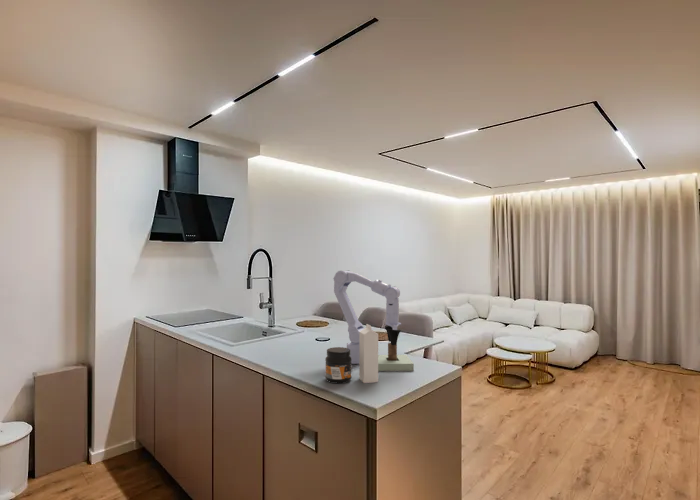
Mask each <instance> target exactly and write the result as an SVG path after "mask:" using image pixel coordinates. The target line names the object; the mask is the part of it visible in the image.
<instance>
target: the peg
mask: <svg viewBox="0 0 700 500" xmlns="http://www.w3.org/2000/svg"><path fill="white" fill-rule="evenodd" d="M387 355H388V361H397V355H398V343H397V344H396V345H391V342H388V343H387Z"/></svg>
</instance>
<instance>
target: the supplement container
mask: <svg viewBox="0 0 700 500" xmlns="http://www.w3.org/2000/svg"><path fill="white" fill-rule="evenodd" d="M324 359H325V360H324V361H325V376H324V377H325V380H326V381H327V380H328V381H330V382H329V383H331V382H337V383H336V384H344V383H343V382H346V383H348V382H350V381H351V379H352V364H351V361H352V358H351V357H350V349H348V348H347V347H343V346H342V347H340V346H337V347H335V346H334V347H329V348H327V349H326V357H325V358H324ZM328 381H327V382H328Z"/></svg>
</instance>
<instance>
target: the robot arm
mask: <svg viewBox="0 0 700 500" xmlns="http://www.w3.org/2000/svg"><path fill="white" fill-rule="evenodd" d="M332 280H333V281H334V283H333V293H334V295H335V297H336V299H337V302H338V304H339V307H340V308H341V312H342V313H343V316H344V318H345V320H346V321H345V322H346V323H347V325H348V327H347V332H348V339H349V341H350V342H348V343H346V348H348V349H350V357H351V358H352V361H351V365H352V364H353V365H357V364H358V365H359V336H360V331H362V330H363V329H365V328H366V327H364V325H363V323H362V322H361V321H360V320H359V319H358V316H357V314H356V312H355V309H354V308H353V305H352V303H351V302H352V301H351V300H350V298H349V296H348V293H347V289H348V287H349V286H350V284H351V283H352V282H354V283H355V282H356V283H359V284H361V285H364V286H366V287H368V288H370V291H372V292H373V293H375V294H378V295H379V296H382V297H385V299H386V300H385V301H386V303H385V304H386V308H385V312H386V313H385V318H386V320H385V326H384V328H385V330H386V334H387V339H388V343H391V345H396V344H397V345H398V338H399V336H400V334H401V331H402V330H401V329H398V327H399V326H401V325H402V322H399V319H400V317H399V315H400V308H399V307H400V305H399V304H400V303H399V301H400V299H399V297H400V296H401V291H400V289H399V287H398V288H397V286H396V285H395V286H392V284H390V283H385V282H383V280H382V279H375V280H371V279H369V278H367V277H366V276H364V275H361V274H360V273H357V272H355V271H351V270H338V271H337V272H335V274H334V276H333V278H332Z"/></svg>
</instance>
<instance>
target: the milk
mask: <svg viewBox="0 0 700 500" xmlns="http://www.w3.org/2000/svg"><path fill="white" fill-rule="evenodd" d="M365 325H366V327H364V328H365V329H363V330H362V331H360V336H359V364H358V365H359V367H358V369H359V370H358V371H359V374H358V375H359V377H358V378H359V380H360V381H361V382H362V383H363V384H368V383H369V384H371V383H379V371H378V355H379V333H378V332H376V331H374V330H373V329H372V325H371V324H368V323H366V324H365Z"/></svg>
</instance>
